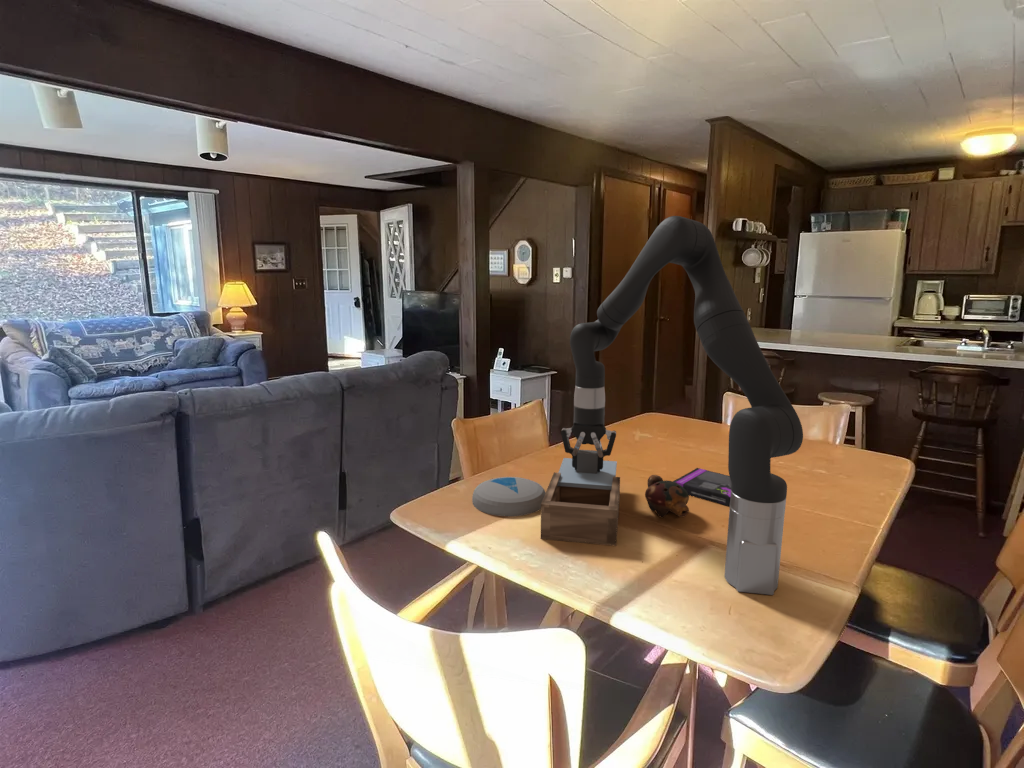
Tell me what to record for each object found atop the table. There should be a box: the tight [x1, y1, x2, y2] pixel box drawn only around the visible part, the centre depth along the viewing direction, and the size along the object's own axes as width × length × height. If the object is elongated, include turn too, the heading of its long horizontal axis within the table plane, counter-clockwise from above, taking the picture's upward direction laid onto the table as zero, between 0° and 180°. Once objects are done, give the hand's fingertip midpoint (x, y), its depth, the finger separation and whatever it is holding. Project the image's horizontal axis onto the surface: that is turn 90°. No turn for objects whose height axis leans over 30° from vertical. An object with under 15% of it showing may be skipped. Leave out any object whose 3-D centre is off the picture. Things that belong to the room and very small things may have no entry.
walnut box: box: [540, 472, 621, 547], centre depth 133 cm, size 20×16×8 cm
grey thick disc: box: [471, 476, 546, 517], centre depth 146 cm, size 18×18×5 cm
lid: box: [557, 449, 618, 490], centre depth 146 cm, size 18×14×6 cm
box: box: [672, 467, 731, 508], centre depth 151 cm, size 14×4×20 cm
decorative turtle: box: [644, 474, 690, 518], centre depth 138 cm, size 10×15×8 cm, turn 21°
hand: (587, 469), depth 146 cm, fingers closed on lid, 5 cm apart
